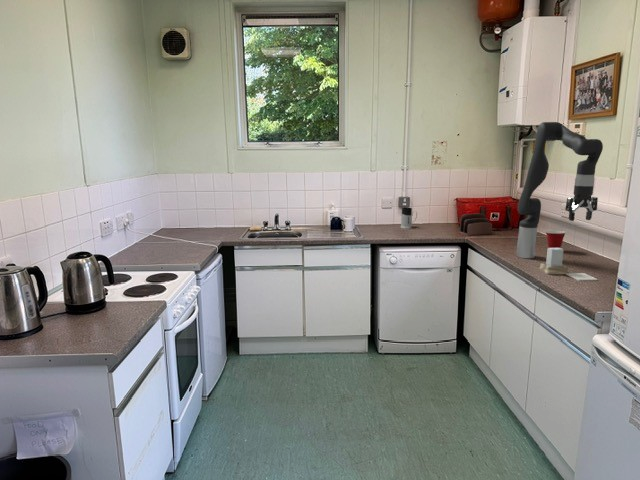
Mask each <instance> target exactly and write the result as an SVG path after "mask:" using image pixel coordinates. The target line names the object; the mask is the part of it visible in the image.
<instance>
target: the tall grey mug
mask: <svg viewBox="0 0 640 480" xmlns="http://www.w3.org/2000/svg"><path fill="white" fill-rule="evenodd" d="M414 212H415V214H416V215H415V216H416V217H415V218H414V220H413V219H412V217H413V216H414ZM400 216H401V218H400V220H401V222H400V228H401V229H412V226H413V225H412V224H413V223H414V222H415V221H416V220H417V219H418V218H417V217H418V212H417V211H416V210H413V208H412V207H402V208H401V215H400ZM412 220H413V221H412Z"/></svg>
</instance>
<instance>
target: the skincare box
mask: <svg viewBox="0 0 640 480" xmlns="http://www.w3.org/2000/svg"><path fill="white" fill-rule="evenodd" d="M546 251H547V252H546V261H545V263H546V265H547V266H549V267H562V265H563V260H564V259H563V257H564V248H548V247H547V249H546Z"/></svg>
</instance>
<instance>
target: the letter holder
mask: <svg viewBox="0 0 640 480" xmlns="http://www.w3.org/2000/svg"><path fill="white" fill-rule="evenodd" d="M459 226H460V227H459V233H460V234H462V235H465V236H481V235H492V231H493V223H491V222H489V219H488V218H486V214H484V213H479V212H478V213H477V212H476V213H465V214H461V216H460V225H459Z"/></svg>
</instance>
